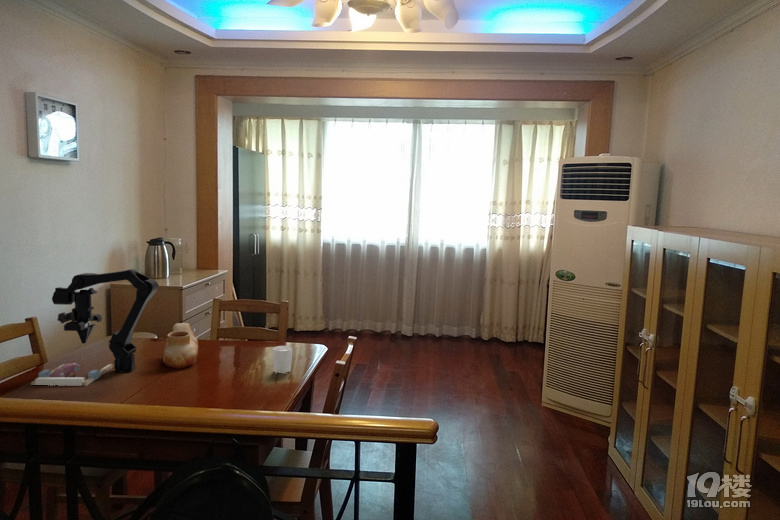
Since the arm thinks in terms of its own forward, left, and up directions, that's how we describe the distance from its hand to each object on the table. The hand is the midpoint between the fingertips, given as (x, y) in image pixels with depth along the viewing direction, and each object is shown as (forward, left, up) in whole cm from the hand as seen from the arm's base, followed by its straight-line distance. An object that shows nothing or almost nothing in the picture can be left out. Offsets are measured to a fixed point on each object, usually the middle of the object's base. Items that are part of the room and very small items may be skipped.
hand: (83, 343), depth 204 cm
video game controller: (+2, +10, -11) cm, 15 cm away
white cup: (-79, +2, -11) cm, 80 cm away
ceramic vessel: (-34, -14, -11) cm, 38 cm away
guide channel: (0, +7, -11) cm, 13 cm away
